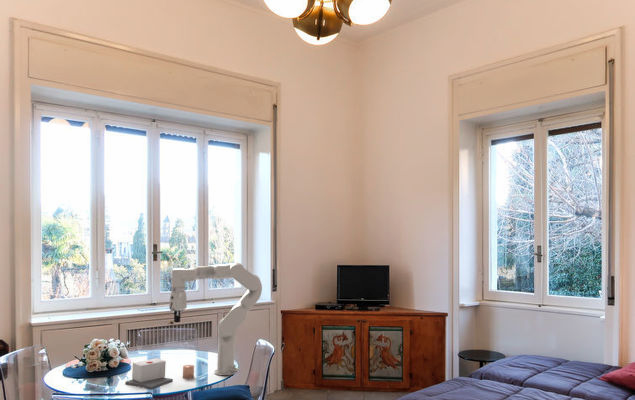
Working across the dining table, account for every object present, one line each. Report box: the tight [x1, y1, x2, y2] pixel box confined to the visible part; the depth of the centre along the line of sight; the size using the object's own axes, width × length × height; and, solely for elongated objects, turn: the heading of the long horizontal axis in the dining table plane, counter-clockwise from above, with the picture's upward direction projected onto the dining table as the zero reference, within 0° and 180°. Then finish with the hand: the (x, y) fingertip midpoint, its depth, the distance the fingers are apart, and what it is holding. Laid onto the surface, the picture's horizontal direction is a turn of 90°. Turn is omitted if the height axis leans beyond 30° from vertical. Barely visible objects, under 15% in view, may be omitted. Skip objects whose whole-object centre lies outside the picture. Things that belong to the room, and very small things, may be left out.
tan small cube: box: [182, 364, 195, 380], centre depth 291 cm, size 6×6×6 cm
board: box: [125, 377, 173, 390], centre depth 279 cm, size 18×16×1 cm
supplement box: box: [131, 357, 167, 382], centre depth 283 cm, size 9×9×15 cm
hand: (177, 322), depth 299 cm, fingers closed
